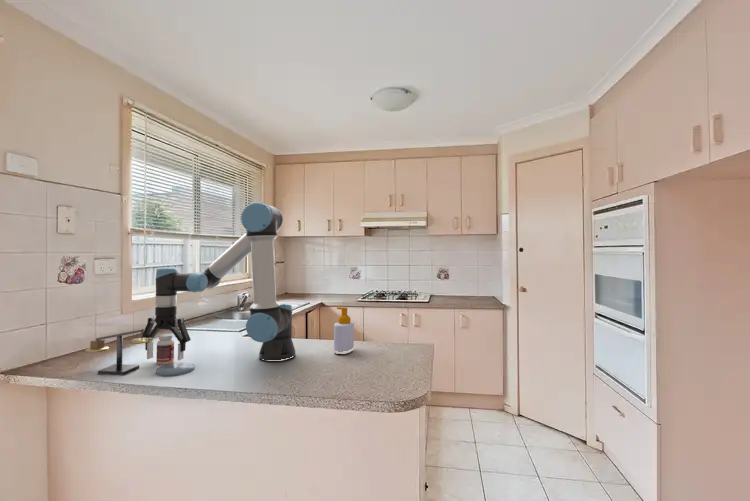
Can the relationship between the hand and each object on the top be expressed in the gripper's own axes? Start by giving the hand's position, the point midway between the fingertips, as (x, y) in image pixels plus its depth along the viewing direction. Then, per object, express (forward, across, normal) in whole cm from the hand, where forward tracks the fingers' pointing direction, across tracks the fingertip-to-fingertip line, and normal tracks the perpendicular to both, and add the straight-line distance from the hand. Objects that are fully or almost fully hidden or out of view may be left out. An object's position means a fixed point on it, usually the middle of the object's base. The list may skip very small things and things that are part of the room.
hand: (165, 358), depth 150 cm
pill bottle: (+2, 0, 0) cm, 2 cm away
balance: (+1, +10, +12) cm, 16 cm away
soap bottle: (+2, -69, -25) cm, 73 cm away
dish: (+1, -10, +9) cm, 14 cm away
